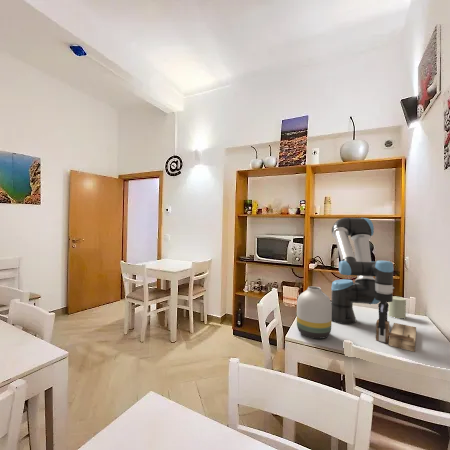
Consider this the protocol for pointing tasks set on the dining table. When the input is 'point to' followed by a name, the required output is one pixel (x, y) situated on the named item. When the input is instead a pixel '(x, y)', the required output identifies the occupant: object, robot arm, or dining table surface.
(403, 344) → the board
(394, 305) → the can
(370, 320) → the dining table surface
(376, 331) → the brown wooden block
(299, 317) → the vase
